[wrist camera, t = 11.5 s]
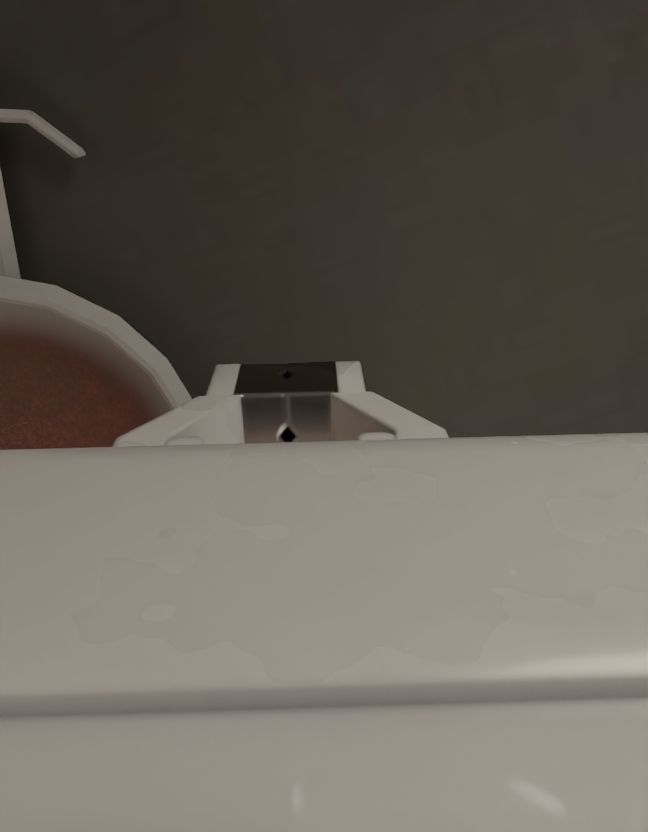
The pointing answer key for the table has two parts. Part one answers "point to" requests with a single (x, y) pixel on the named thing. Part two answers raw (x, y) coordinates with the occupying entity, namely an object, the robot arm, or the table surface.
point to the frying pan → (70, 354)
